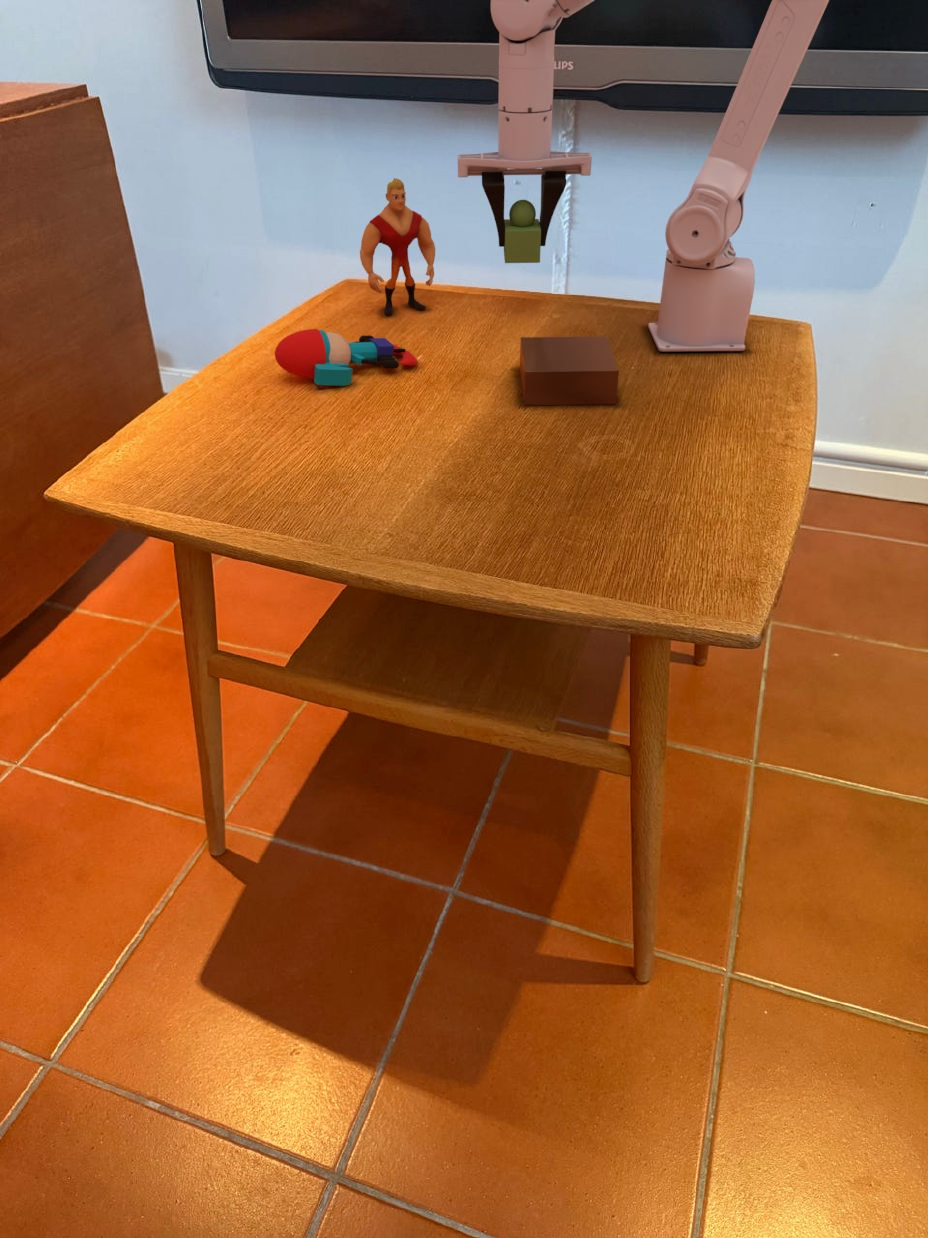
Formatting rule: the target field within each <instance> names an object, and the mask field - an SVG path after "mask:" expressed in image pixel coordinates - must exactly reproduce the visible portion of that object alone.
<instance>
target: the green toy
mask: <svg viewBox="0 0 928 1238" xmlns="http://www.w3.org/2000/svg"><path fill="white" fill-rule="evenodd" d="M508 216H509V219H508V218H507V219H505V218H504V224H505V247H503V257H504V258H503V259H504V264H539V263H541V247H542V246H541V228H540V223H539V221H540V218H536V217H537V211H536V208H535V206H534V204H533V203H532V202H531V201H529V200H527V199H519V200H515V202H514V203H513V204H512V205H511V206H510V208H509V213H508Z"/></svg>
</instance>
